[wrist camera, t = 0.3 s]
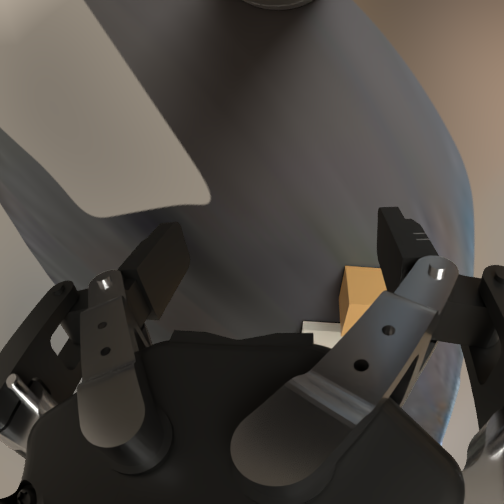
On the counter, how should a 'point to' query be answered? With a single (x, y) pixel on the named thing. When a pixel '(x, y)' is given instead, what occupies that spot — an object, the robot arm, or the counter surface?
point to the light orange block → (358, 294)
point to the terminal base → (323, 332)
